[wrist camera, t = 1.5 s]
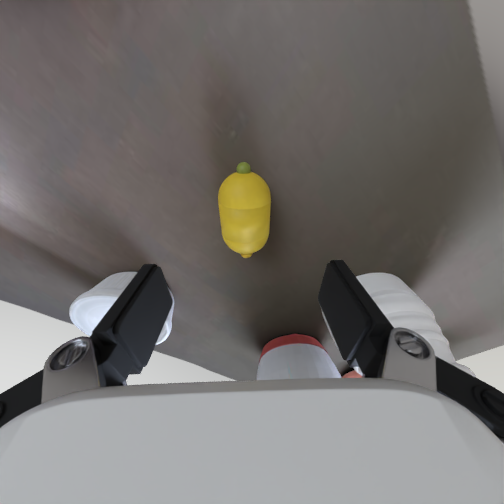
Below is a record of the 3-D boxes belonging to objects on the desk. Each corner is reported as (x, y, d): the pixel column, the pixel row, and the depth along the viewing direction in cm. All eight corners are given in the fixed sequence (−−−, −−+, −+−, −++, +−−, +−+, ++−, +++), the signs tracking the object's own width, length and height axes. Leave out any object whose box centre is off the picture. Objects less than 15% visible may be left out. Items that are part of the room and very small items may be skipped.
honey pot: (393, 321, 32) (519, 486, 17) (320, 330, 33) (380, 494, 18) (417, 265, 25) (670, 469, 10) (322, 280, 26) (425, 483, 11)
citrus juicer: (288, 374, 44) (313, 524, 27) (236, 349, 36) (227, 534, 20) (347, 350, 38) (426, 523, 21) (300, 314, 30) (365, 536, 14)
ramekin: (183, 319, 30) (172, 351, 26) (111, 314, 29) (88, 347, 25) (178, 268, 24) (163, 299, 20) (87, 259, 23) (50, 290, 18)
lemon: (217, 158, 17) (209, 167, 13) (269, 157, 17) (276, 166, 13) (226, 245, 22) (222, 271, 18) (265, 244, 22) (270, 270, 18)
